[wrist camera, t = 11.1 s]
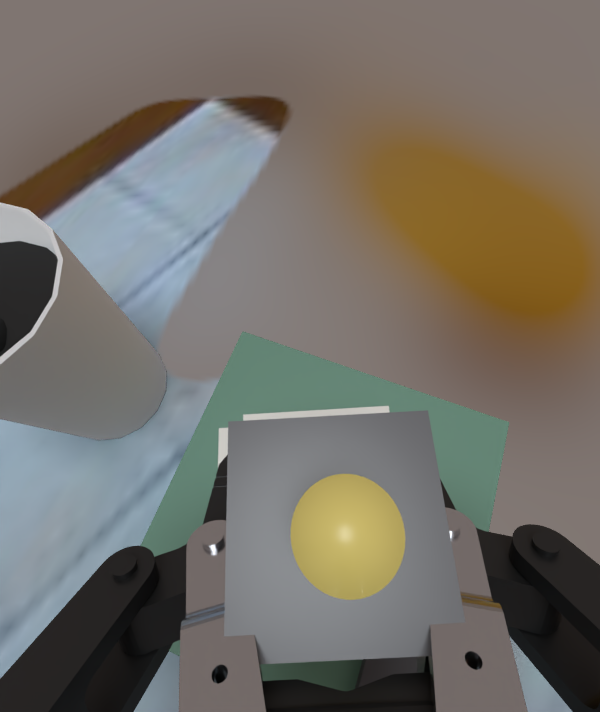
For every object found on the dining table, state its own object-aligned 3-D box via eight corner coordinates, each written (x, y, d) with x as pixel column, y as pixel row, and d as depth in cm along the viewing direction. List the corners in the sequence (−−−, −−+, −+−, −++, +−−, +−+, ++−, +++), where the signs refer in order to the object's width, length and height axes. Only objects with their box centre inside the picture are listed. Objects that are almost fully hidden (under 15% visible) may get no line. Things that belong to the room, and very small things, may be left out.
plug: (277, 570, 15) (173, 754, 4) (274, 468, 17) (193, 386, 5) (375, 565, 15) (561, 738, 4) (364, 463, 17) (475, 370, 5)
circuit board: (117, 612, 17) (98, 623, 15) (245, 338, 21) (240, 326, 20) (432, 769, 15) (445, 799, 13) (499, 426, 19) (515, 419, 18)
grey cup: (159, 455, 19) (15, 407, 10) (34, 442, 20) (-217, 386, 10) (186, 335, 22) (90, 206, 12) (74, 326, 22) (-100, 195, 13)
